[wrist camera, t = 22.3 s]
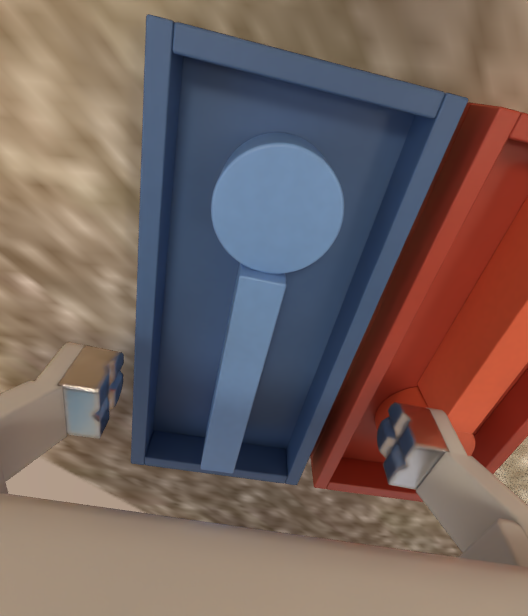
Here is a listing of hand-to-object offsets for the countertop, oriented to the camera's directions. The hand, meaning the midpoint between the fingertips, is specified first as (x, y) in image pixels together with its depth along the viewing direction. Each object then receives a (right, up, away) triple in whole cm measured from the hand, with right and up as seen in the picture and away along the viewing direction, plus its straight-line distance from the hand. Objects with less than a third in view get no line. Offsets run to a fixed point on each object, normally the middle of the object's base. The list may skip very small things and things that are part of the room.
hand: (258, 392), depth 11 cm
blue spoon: (0, +3, +3) cm, 4 cm away
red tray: (+8, +1, +4) cm, 9 cm away
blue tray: (0, +3, +3) cm, 4 cm away
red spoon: (+8, +1, +4) cm, 9 cm away
